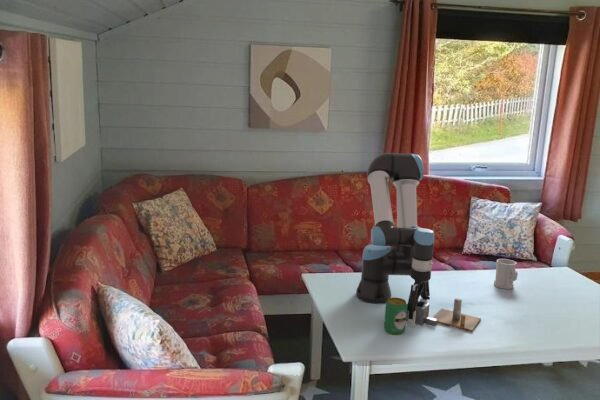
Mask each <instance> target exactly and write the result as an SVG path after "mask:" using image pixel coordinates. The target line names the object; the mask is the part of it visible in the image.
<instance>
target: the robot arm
mask: <svg viewBox="0 0 600 400" xmlns="http://www.w3.org/2000/svg"><path fill="white" fill-rule="evenodd" d="M424 169H425V168H424V163H423V159H422V158H421V156H420V155H419V154H416V153H399V152H398V153H397V152H396V153H395V152H383V153H381V154H379V155H377V156H376V157H374V158H373V159H372V161H371V162H370V163H369V165H368V167H367V172H366V179H367V183H368V184H369V185H370V193H371V201H372V202H371V203H372V211H373V219H374V226H372V228H371V231H370V241H371V242H370V243H371V244H368V245H366V246H364V248H363V251H362V257H361V259H362V261H361V262H362V264H361V275H360V276H361V277H360V278H361V279H360V281H359V284H358V286H357V288H356V292H355V297H356V298H357V299H358V300H360V301H362V302H365V303H370V304H386V302H387V301H388V299H389V298H392V291H391V287H390V282H389V278H390V277H389V276H409V277H411V279H413V281H414V283H413V284H411V286H410V291H409V296H408V300H407V301H408V302H407V310H408V322H406V327H407V326H408V327H410V328H411V327H412V328H415V326H416V324H415V316H416V311H415V309H416V305H417V302H418V301H422V302H426V303H428V301H429V300H430V298H431V297H430V292H431V291H430V280H431V277H432V267H433V265H434V262H433V257H434V256H433V255H434V246H435V232H434V230H432V229H429V228H423V227H420V226H419V225H418V208H417V202H418V201H417V187H418V185H419V184H420V181H422V180H423V178H424V171H425V170H424ZM390 180H392V184H393V185H394V187H395V188H396V226H397V227H396V226H395V223H394V217H393V210H392V202H391V197H390V196H391V195H390V189H389V181H390Z"/></svg>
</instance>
